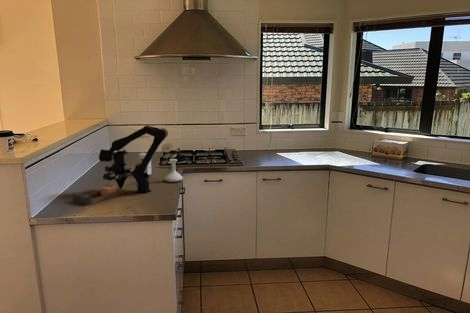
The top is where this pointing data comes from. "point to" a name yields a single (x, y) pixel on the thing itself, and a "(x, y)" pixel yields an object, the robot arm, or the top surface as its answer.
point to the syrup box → (141, 157)
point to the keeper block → (108, 189)
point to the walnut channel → (87, 200)
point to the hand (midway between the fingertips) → (120, 188)
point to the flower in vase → (173, 175)
